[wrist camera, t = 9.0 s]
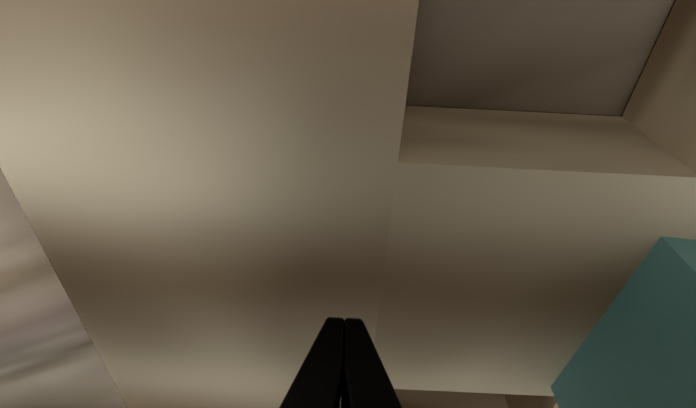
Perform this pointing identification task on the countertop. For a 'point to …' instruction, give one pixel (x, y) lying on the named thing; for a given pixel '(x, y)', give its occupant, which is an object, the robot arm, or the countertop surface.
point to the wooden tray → (325, 197)
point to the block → (641, 340)
